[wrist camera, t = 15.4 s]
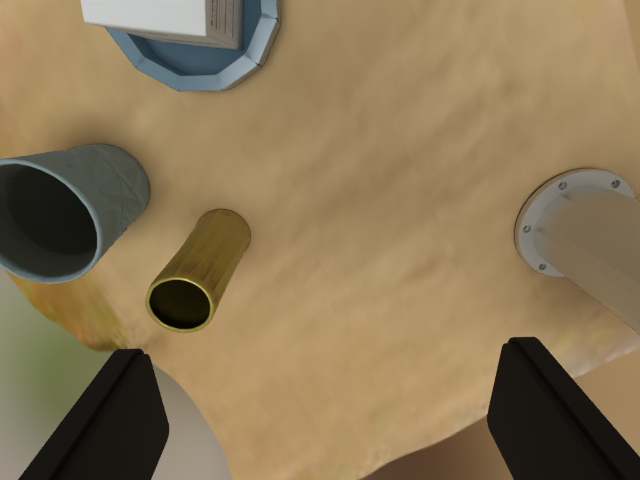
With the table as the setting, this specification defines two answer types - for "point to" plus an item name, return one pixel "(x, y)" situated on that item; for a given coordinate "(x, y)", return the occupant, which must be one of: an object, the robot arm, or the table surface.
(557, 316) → the table surface
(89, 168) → the blue-grey cup
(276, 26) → the bowl
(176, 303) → the vase
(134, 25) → the supplement box
